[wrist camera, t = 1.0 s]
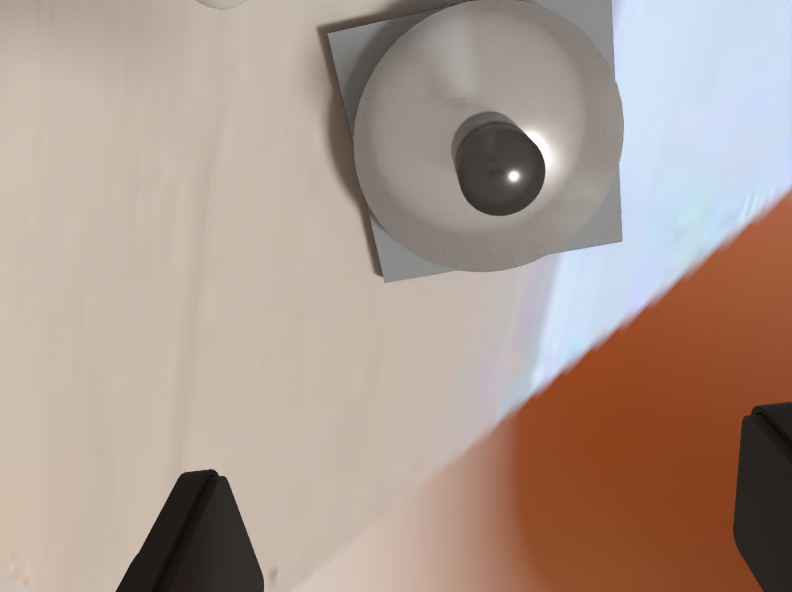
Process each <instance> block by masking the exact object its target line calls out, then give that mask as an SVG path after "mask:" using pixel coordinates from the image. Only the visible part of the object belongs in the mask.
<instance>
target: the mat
mask: <svg viewBox="0 0 792 592" xmlns="http://www.w3.org/2000/svg"><path fill="white" fill-rule="evenodd" d="M474 1H475V0H474ZM518 1H525V2H528V3H532V4H535V5H538V6H542V7H544V8H546V9H548V10H551V11H553V12H555V13H557V14H559V15H561V16H562V17H564V18H565V19H567V20H568V21H570V22H571V23H573V24H574V25H576V26H577V27H578V28H579V29H580V30H581V31H582V32H583V33H584V34H586V35H587V36H588V37H589V38H590V39H591V41H592V42H593V43H594V44H595V46H596V47H597V48H598V49H599V51H600V52H601V53H602V55H603V57H604V58H605V60H606V62H607V64H608V65H609V67H610V69H611V71H612V74H613V76H614V79H615V68H614V46H613V24H612V2H611V0H518ZM456 5H458V4H456ZM452 6H454V5H452ZM448 7H451V6H447V7H443V8H438V9H434V10H430V11H425V12H421V13H416V14H412V15H407V16H403V17H398V18H394V19H390V20H385V21H381V22H376V23H372V24H367V25H363V26H358V27H354V28H350V29H345V30H341V31H336V32H332V33H327V34H328V38H329V43H330V47H331V51H332V56H333V60H334V64H335V69H336V73H337V77H338V82H339V86H340V91H341V95H342V99H343V104H344V108H345V112H346V117H347V121H348V125H349V130H350V134H351V138H352V143H353V137H354V127H355V119H356V115H357V111H358V106H359V102H360V100H361V97H362V94H363V91H364V89H365V86H366V84H367V82H368V80H369V78H370V76H371V74H372V73H373V71H374V69H375V67H376V66H377V65H378V63H379V62H380V60H381V59H382V57H383V56H384V54H385V53H386V52H387V51H388V50H389V49H390V48H391V47H392V45H393V44H394V43H395V42H396V41H397V40H398V39H399V38H400V37H401V36H402V35H404V34H405V33H406V32H407V31H408V30H409V29H411V28H412V27H413V26H414V25H416V24H418V23H419V22H421V21H422V20H424V19H425V18H427V17H429V16H430V15H433V14H435V13H437V12H439V11H441V10H443V9H446V8H448ZM353 147H354V145H353ZM366 204H367V208H368V212H369V217H370V221H371V225H372V230H373V234H374V238H375V243H376V247H377V251H378V256H379V260H380V265H381V269H382V273H383V278H384V282H385V283H388V282H394V281H399V280H405V279H411V278H416V277H422V276H428V275H434V274H439V273H445V272H451V271H456V270H455V269H451V268H447V267H443V266H439V265H437V264H434V263H432V262H429V261H427V260H425V259H423V258H421V257H419V256H417V255H416V254H414V253H412V252H411V251H409V250H408V249H406V248H405V247H404V246H402V245H401V244H400V243H398V242H397V241H396V240H395V239H394V238H393V237H392V236H391V235H390V234H389V233H388V232H387V231H386V230H385V229H384V227H383V226H382V225H381V224H380V222H379V221H378V220H377V219H376V217H375V215H374V214H373V212H372V210H371V209H370V207H369V206H368V203H367V201H366ZM617 242H622V221H621V199H620V177H619V164H618V168H617V171H616V175H615V177H614V179H613V182H612V184H611V187H610V189H609V191H608V193H607V195H606V196H605V198H604V200H603V202H602V203H601V205H600V207H599V208H598V209H597V211H596V212H595V213H594V215H593V216H592V217H591V219H590V220H589V221H588V222H587V223H586V224H585V225H584V226H583V227H582V229H581V230H580V231H579V232H578V233H577V234H575V235H574V236H573V237H572V238H571V239H569V240H568V241H567V242H566V243H565V244H563V245H562V246H560V247H559V248H557V249H556V250H554V251H553V252H551V253H549V254H554V253H559V252H565V251H571V250H577V249H582V248H588V247H594V246H599V245H605V244H611V243H617ZM547 255H548V254H547Z"/></svg>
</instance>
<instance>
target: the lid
mask: <svg viewBox="0 0 792 592" xmlns="http://www.w3.org/2000/svg"><path fill="white" fill-rule="evenodd" d="M623 131H624V119H623V110H622V102H621V98H620V94H619V90H618V86H617V83H616V81H615V79H614V76H613V74H612V71H611V69H610V67H609V65H608V64H607V62H606V60H605V58H604V57H603V55H602V53H601V52H600V51H599V49H598V48H597V47H596V46H595V44H594V43H593V42H592V41H591V39H590V38H589V37H588V36H587V35H586V34H584V33H583V32H582V31H581V30H580V29H579V28H578V27H577V26H576V25H574V24H573V23H571V22H570V21H568V20H567V19H565V18H564V17H562V16H561V15H559V14H557V13H555V12H553V11H551V10H548V9H546V8H544V7H542V6H538V5H535V4H532V3H528V2H525V1H518V0H475V1H469V2H464V3H461V4H458V5H454V6H451V7H448V8H446V9H443V10H441V11H439V12H437V13H435V14H433V15H430V16H429V17H427V18H425V19H424V20H422V21H421V22H419V23H418V24H416V25H414V26H413V27H412V28H411V29H409V30H408V31H407V32H406V33H405V34H404V35H402V36H401V37H400V38H399V39H398V40H397V41H396V42H395V43H394V44H393V45H392V47H391V48H390V49H389V50H388V51H387V52H386V53H385V54H384V56H383V57H382V59H381V60H380V62H379V63H378V65H377V66H376V67H375V69H374V71H373V73H372V74H371V76H370V78H369V80H368V82H367V84H366V86H365V89H364V91H363V94H362V97H361V100H360V102H359V106H358V111H357V115H356V119H355V127H354V137H353V145H354V160H355V167H356V173H357V177H358V180H359V183H360V187H361V190H362V192H363V194H364V197H365V199H366V201H367V203H368V206H369V207H370V209H371V210H372V212H373V214H374V215H375V217H376V219H377V220H378V221H379V222H380V224H381V225H382V226H383V227H384V229H385V230H386V231H387V232H388V233H389V234H390V235H391V236H392V237H393V238H394V239H395V240H396V241H397V242H398V243H400V244H401V245H402V246H404V247H405V248H406V249H408V250H409V251H411V252H412V253H414V254H416V255H417V256H419V257H421V258H423V259H425V260H427V261H429V262H432V263H434V264H437V265H439V266H443V267H447V268H451V269H455V270H461V271H469V272H491V271H500V270H506V269H510V268H515V267H519V266H522V265H525V264H527V263H530V262H533V261H535V260H537V259H539V258H541V257H543V256H545V255H547V254H549V253H551V252H553V251H554V250H556V249H557V248H559V247H560V246H562V245H563V244H565V243H566V242H567V241H568V240H569V239H571V238H572V237H573V236H574V235H575V234H577V233H578V232H579V231H580V230H581V229H582V227H583V226H584V225H585V224H586V223H587V222H588V221H589V220H590V219H591V217H592V216H593V215H594V213H595V212H596V211H597V209H598V208H599V207H600V205H601V203H602V202H603V200H604V198H605V196H606V195H607V193H608V191H609V189H610V187H611V184H612V182H613V179H614V177H615V175H616V171H617V168H618V164H619V161H620V157H621V151H622V145H623Z"/></svg>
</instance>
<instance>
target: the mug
mask: <svg viewBox="0 0 792 592" xmlns="http://www.w3.org/2000/svg"><path fill="white" fill-rule="evenodd" d="M196 1H198V2H199V3H201V4H203V5H205V6H207V7H211V8H215V9H220V10H225V9H230V8H233V7H236V6H239V5H240V4H242V3H243V2H245V1H246V0H196Z"/></svg>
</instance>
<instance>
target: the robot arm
mask: <svg viewBox="0 0 792 592" xmlns="http://www.w3.org/2000/svg"><path fill="white" fill-rule="evenodd" d="M733 533H734V539H735V542H736V545H737V548H738V550H739V552H740V554H741V555H742V557H743V558H744V560H745V562H746V563H747V565H748V567H749V568H750V570H751V572H752V573H753V575H754V577H755V578H756V580H757V581H758V583H759V585H760V586H761V588H762V589H763V591H764V592H792V402H785V403H777V404H769V405H760V406H756V407H754V408H753V410H752V413H751V415H748V416H745V417H744V418H743V421H742V429H741V442H740V454H739V466H738V478H737V490H736V502H735V514H734V526H733ZM116 592H264V579H263V575H262V572H261V569H260V566H259V564H258V561H257V558H256V555H255V553H254V550H253V547H252V545H251V542H250V539H249V536H248V534H247V531H246V528H245V526H244V523H243V520H242V517H241V515H240V512H239V509H238V507H237V504H236V501H235V499H234V496H233V493H232V490H231V488H230V485H229V482H228V480H227V478H226V477H225V476H219V475H218V473H217V472H216V471H215V470H212V469H210V470H201V471H193V472H185V473H183V474H181V475H180V477H179V478H178V480H177V482H176V484H175V486H174V488H173V489H172V491H171V493H170V495H169V497H168V499H167V501H166V503H165V505H164V506H163V508H162V510H161V512H160V514H159V516H158V518H157V520H156V521H155V523H154V525H153V527H152V529H151V531H150V533H149V535H148V536H147V538H146V540H145V542H144V544H143V546H142V548H141V550H140V552H139V553H138V554H137V555H136V557H135V558H134V559H133V561H132V562H131V564H130V566H129V568H128V570H127V572H126V573H125V575H124V577H123V579H122V581H121V583H120V585H119V587H118V588H117V590H116Z"/></svg>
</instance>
